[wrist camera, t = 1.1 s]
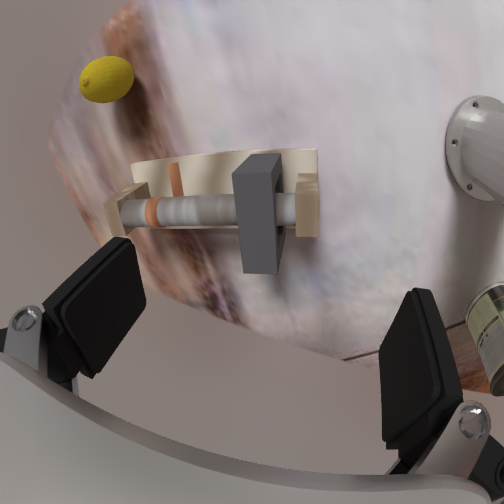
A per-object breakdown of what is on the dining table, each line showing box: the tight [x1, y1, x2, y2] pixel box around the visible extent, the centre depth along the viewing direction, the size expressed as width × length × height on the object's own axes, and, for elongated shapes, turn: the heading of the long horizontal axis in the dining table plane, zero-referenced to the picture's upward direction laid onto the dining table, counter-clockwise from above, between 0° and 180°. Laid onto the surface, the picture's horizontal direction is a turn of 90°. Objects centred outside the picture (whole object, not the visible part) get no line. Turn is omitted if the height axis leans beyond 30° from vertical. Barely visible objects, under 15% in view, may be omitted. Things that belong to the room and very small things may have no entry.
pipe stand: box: [103, 149, 319, 237], centre depth 29 cm, size 22×9×8 cm, turn 95°
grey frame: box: [231, 153, 285, 274], centre depth 26 cm, size 3×9×8 cm, turn 4°
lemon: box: [79, 56, 134, 103], centre depth 23 cm, size 6×6×8 cm
